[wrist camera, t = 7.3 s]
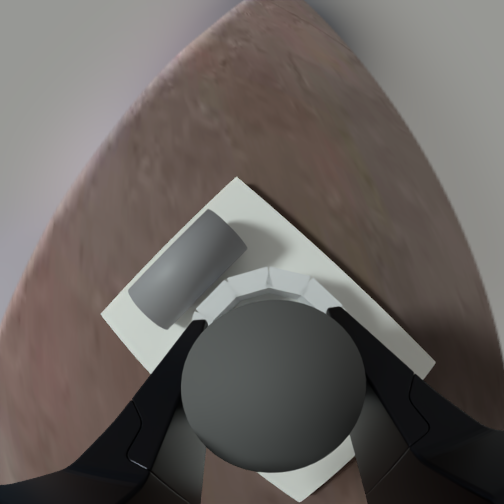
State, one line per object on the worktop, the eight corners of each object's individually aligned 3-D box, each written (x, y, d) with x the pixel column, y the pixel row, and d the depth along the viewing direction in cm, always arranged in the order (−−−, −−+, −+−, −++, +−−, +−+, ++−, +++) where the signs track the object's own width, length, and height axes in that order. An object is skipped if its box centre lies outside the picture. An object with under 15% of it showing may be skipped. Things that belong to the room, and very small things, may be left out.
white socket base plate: (428, 361, 17) (462, 366, 13) (298, 495, 15) (304, 528, 11) (237, 183, 20) (231, 151, 16) (108, 315, 18) (74, 310, 14)
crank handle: (317, 364, 15) (393, 417, 5) (254, 397, 15) (235, 496, 5) (284, 303, 16) (312, 265, 6) (221, 337, 15) (150, 350, 6)
